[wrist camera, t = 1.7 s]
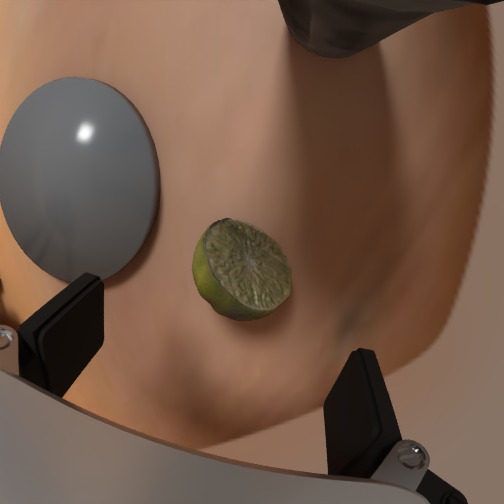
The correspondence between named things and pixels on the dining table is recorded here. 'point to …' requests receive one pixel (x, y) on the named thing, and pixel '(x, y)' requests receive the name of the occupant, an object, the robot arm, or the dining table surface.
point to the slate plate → (79, 178)
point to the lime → (240, 270)
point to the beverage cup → (356, 21)
